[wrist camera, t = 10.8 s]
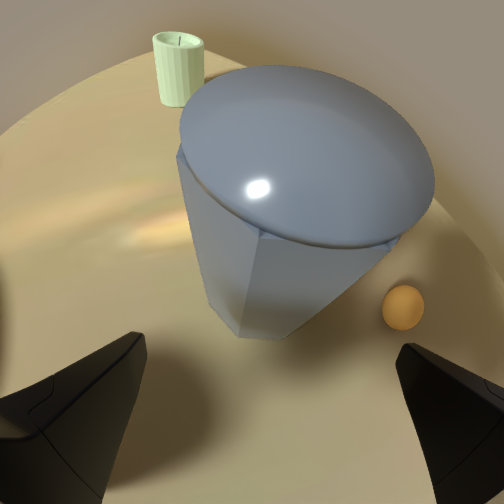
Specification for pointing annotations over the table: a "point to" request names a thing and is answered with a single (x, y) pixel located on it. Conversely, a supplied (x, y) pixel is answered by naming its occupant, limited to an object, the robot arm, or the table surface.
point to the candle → (178, 66)
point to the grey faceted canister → (294, 191)
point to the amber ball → (403, 307)
